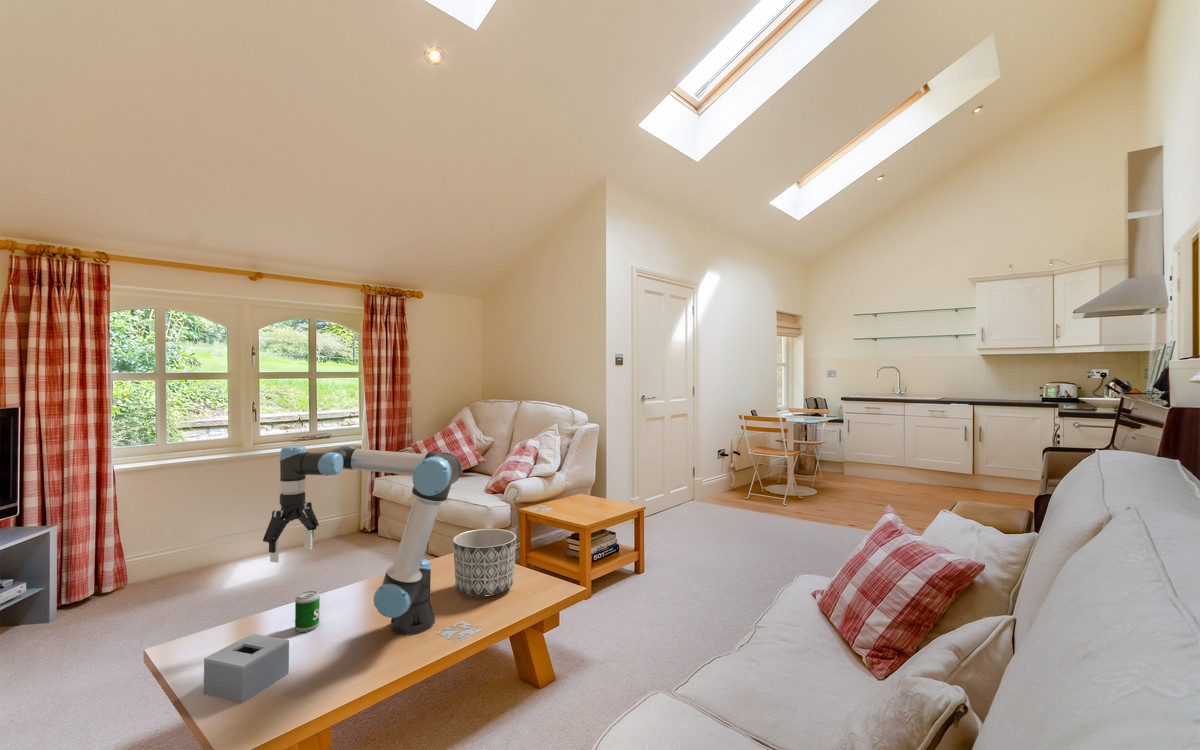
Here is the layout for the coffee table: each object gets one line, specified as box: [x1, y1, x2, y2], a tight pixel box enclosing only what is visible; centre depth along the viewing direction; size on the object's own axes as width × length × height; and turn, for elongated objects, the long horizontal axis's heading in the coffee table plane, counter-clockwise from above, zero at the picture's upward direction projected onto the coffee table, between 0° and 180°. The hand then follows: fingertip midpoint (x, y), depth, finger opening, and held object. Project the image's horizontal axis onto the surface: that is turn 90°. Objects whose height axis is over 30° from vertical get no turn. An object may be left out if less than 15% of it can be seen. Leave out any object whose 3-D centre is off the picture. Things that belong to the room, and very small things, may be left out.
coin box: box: [203, 633, 290, 704], centre depth 153 cm, size 14×15×10 cm
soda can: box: [294, 590, 321, 633], centre depth 187 cm, size 8×8×12 cm
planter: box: [452, 528, 517, 597], centre depth 222 cm, size 26×26×22 cm
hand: (292, 555), depth 179 cm, fingers open, 13 cm apart
